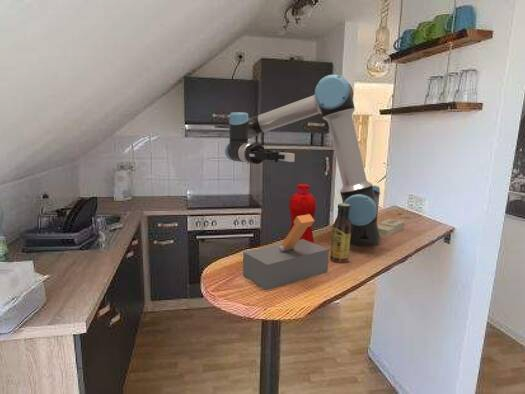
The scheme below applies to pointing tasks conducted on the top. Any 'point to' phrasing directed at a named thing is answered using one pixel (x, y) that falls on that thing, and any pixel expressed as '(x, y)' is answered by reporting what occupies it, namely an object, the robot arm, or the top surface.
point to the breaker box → (284, 264)
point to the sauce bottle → (341, 234)
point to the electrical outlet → (390, 227)
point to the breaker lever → (296, 232)
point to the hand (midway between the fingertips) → (292, 157)
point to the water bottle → (302, 208)
